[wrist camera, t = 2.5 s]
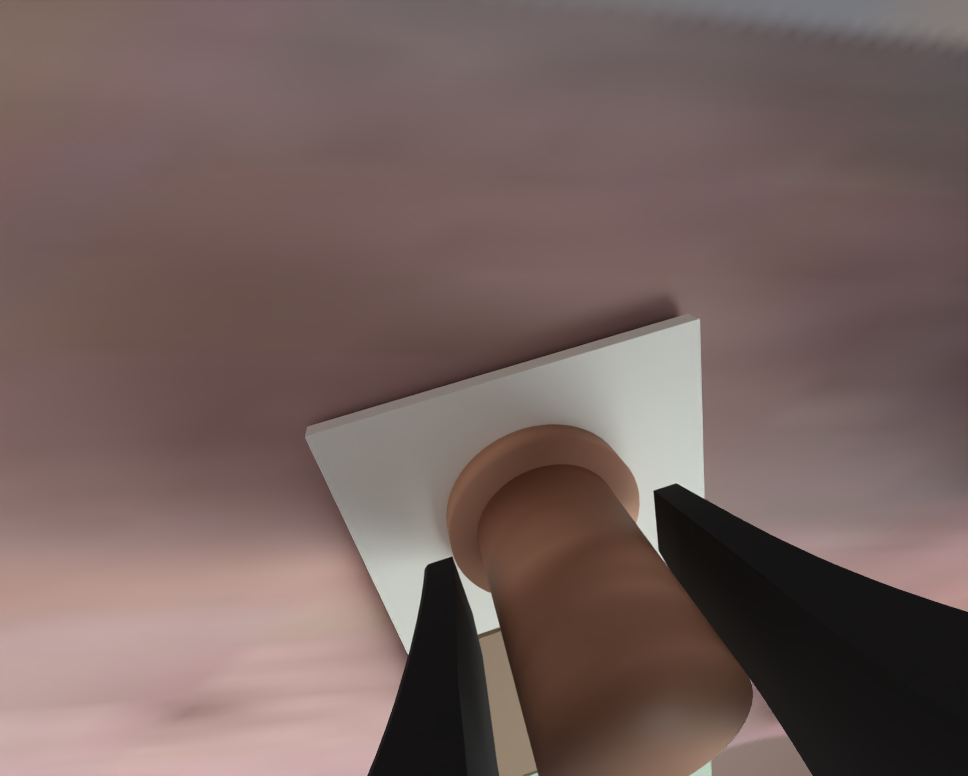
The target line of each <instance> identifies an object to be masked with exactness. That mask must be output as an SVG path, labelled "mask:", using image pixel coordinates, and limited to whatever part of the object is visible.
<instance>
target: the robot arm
mask: <svg viewBox="0 0 968 776" xmlns="http://www.w3.org/2000/svg"><path fill="white" fill-rule="evenodd" d="M653 492H654V504H655V515H656V527H657V539H658V550H659V552H660V554H661V556H662V558H663V559H664V561H665V563H666V564H667V566H668V568H669V569H670V570H671V572H672V573H673V574H674V576H675V577H676V579H677V580H678V581H679V583H680V584H681V585H682V587H683V588H684V589H685V591H686V592H687V593H688V595H689V596H690V598H691V599H692V600H693V602H694V603H695V604H696V606H697V607H698V608H699V610H700V611H701V612H702V614H703V615H704V617H705V618H706V619H707V621H708V622H709V623H710V625H711V626H712V627H713V629H714V630H715V632H716V633H717V634H718V636H719V637H720V638H721V640H722V641H723V642H724V644H725V645H726V646H727V648H728V649H729V651H730V652H731V653H732V655H733V656H734V657H735V659H736V660H737V661H738V663H739V664H740V666H741V667H742V668H743V670H744V671H745V672H746V674H747V675H748V677H749V678H750V679H751V681H752V682H753V684H754V685H755V686H756V688H757V689H758V691H759V692H760V693H761V695H762V696H763V698H764V699H765V701H766V703H767V704H768V706H769V707H770V709H771V710H772V712H773V713H774V715H775V716H776V718H777V720H778V721H779V723H780V724H781V726H782V727H783V729H784V730H785V732H786V734H787V735H788V737H789V738H790V740H791V741H792V743H793V745H794V746H795V748H796V749H797V751H798V752H799V754H800V756H801V757H802V759H803V761H804V762H805V764H806V765H807V767H808V769H809V770H810V772H811V773H812V775H813V776H968V612H966V611H963V610H960V609H957V608H953V607H950V606H947V605H944V604H941V603H938V602H935V601H932V600H929V599H926V598H923V597H920V596H917V595H914V594H911V593H908V592H905V591H902V590H899V589H897V588H894V587H891V586H889V585H886V584H883V583H880V582H878V581H875V580H872V579H870V578H867V577H865V576H862V575H860V574H857V573H855V572H852V571H850V570H847V569H845V568H843V567H840V566H838V565H835V564H833V563H830V562H828V561H826V560H824V559H821V558H819V557H817V556H814V555H812V554H810V553H808V552H806V551H804V550H802V549H799V548H797V547H795V546H793V545H791V544H789V543H787V542H785V541H783V540H780V539H778V538H776V537H774V536H772V535H770V534H768V533H766V532H765V531H763V530H761V529H759V528H757V527H755V526H753V525H751V524H749V523H747V522H745V521H743V520H742V519H740V518H738V517H736V516H734V515H732V514H731V513H729V512H727V511H725V510H723V509H722V508H720V507H718V506H716V505H714V504H713V503H711V502H709V501H707V500H705V499H704V498H702V497H700V496H698V495H697V494H695V493H693V492H691V491H689V490H688V489H686V488H684V487H682V486H680V485H679V484H677V483H675V484H672V485H669V486H666V487H663V488H660V489H657V490H654V491H653ZM368 776H499V771H498V765H497V758H496V751H495V743H494V736H493V728H492V721H491V713H490V706H489V698H488V691H487V683H486V676H485V669H484V662H483V655H482V651H481V647H480V642H479V638H478V634H477V629H476V625H475V621H474V617H473V613H472V610H471V607H470V604H469V602H468V599H467V596H466V593H465V590H464V588H463V585H462V582H461V579H460V576H459V573H458V571H457V568H456V565H455V562H454V559H453V557H449V558H446V559H443V560H440V561H436V562H433V563H430V564H428V565H427V566H426V568H425V569H424V580H423V588H422V595H421V600H420V606H419V611H418V616H417V621H416V625H415V630H414V634H413V638H412V642H411V647H410V651H409V655H408V659H407V662H406V666H405V669H404V672H403V676H402V679H401V683H400V686H399V690H398V693H397V696H396V700H395V703H394V706H393V709H392V712H391V715H390V718H389V721H388V723H387V726H386V729H385V732H384V735H383V737H382V740H381V743H380V745H379V748H378V751H377V753H376V756H375V758H374V761H373V763H372V766H371V768H370V771H369V773H368Z"/></svg>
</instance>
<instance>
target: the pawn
mask: <svg viewBox="0 0 968 776" xmlns="http://www.w3.org/2000/svg"><path fill="white" fill-rule="evenodd" d="M639 507H640V501H639V491H638V486H637V483H636V480H635V478H634V476H633V474H632V472H631V471H630V469H629V468H628V466H627V465H626V464H625V463H624V462H623V460H622V459H621V458H620V457H619V456H618V455H617V453H616V452H615V451H614V450H613V449H612V448H611V446H610V445H609V444H608V443H606V442H605V441H604V440H603V439H602V438H600V437H598V436H597V435H595V434H594V433H592V432H589V431H587V430H584V429H582V428H578V427H574V426H569V425H560V424H546V425H539V426H532V427H528V428H524V429H521V430H518V431H515V432H512V433H510V434H508V435H506V436H504V437H502V438H500V439H498V440H496V441H494V442H493V443H491V444H490V445H488V446H487V447H485V448H484V449H483V450H482V451H480V452H479V453H478V454H477V455H476V456H475V457H474V458H473V459H472V460H471V461H470V462H469V463H468V464H467V465H466V466H465V468H464V469H463V470H462V472H461V473H460V475H459V476H458V478H457V480H456V482H455V483H454V485H453V488H452V490H451V493H450V496H449V500H448V504H447V513H446V519H447V528H448V534H449V539H450V544H451V549H452V553H453V557H454V559H455V561H456V563H457V565H458V567H459V568H460V570H461V571H462V573H463V574H464V575H465V576H466V577H467V578H468V579H469V580H470V581H471V582H472V583H474V584H475V585H476V586H478V587H479V588H481V589H483V590H485V591H487V592H490V593H491V595H492V599H493V603H494V607H495V611H496V614H497V618H498V622H499V626H500V630H501V634H502V637H503V641H504V645H505V649H506V653H507V657H508V660H509V664H510V668H511V672H512V676H513V680H514V683H515V687H516V691H517V695H518V699H519V703H520V706H521V710H522V714H523V718H524V722H525V725H526V729H527V733H528V737H529V741H530V745H531V748H532V752H533V756H534V760H535V764H536V768H537V771H538V775H539V776H689V775H691V774H693V773H694V772H696V771H697V770H699V769H700V768H702V767H703V766H704V765H706V764H707V763H708V762H710V761H711V760H712V759H713V758H715V757H716V756H717V755H718V754H719V753H720V752H721V751H722V750H723V749H724V748H725V747H726V746H727V745H728V744H729V743H730V742H731V741H732V740H733V738H734V737H735V736H736V735H737V733H738V732H739V731H740V729H741V727H742V726H743V724H744V723H745V720H746V718H747V716H748V714H749V711H750V708H751V705H752V698H753V691H752V685H751V682H750V679H749V677H748V676H747V674H746V672H745V671H744V670H743V668H742V667H741V666H740V664H739V663H738V661H737V660H736V659H735V657H734V656H733V655H732V653H731V652H730V651H729V649H728V648H727V646H726V645H725V644H724V642H723V641H722V640H721V638H720V637H719V636H718V634H717V633H716V632H715V630H714V629H713V627H712V626H711V625H710V623H709V622H708V621H707V619H706V618H705V617H704V615H703V614H702V612H701V611H700V610H699V608H698V607H697V606H696V604H695V603H694V602H693V600H692V599H691V598H690V596H689V595H688V593H687V592H686V591H685V589H684V588H683V587H682V585H681V584H680V583H679V581H678V580H677V579H676V577H675V576H674V574H673V573H672V572H671V570H670V569H669V568H668V566H667V565H666V564H665V562H664V561H663V559H662V558H661V557H660V555H659V554H658V553H657V551H656V550H655V549H654V547H653V546H652V545H651V543H650V542H649V540H648V539H647V538H646V536H645V535H644V534H643V532H642V531H641V530H640V528H639V527H638V525H637V524H636V522H637V519H638V514H639Z"/></svg>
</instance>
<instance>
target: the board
mask: <svg viewBox="0 0 968 776" xmlns="http://www.w3.org/2000/svg"><path fill="white" fill-rule="evenodd" d="M546 424H560V425H569V426H574V427H578V428H582V429H584V430H587V431H589V432H592V433H594V434H595V435H597V436H598V437H600V438H602V439H603V440H604V441H605V442H606V443H608V444H609V445H610V446H611V448H612V449H613V450H614V451H615V452H616V453H617V455H618V456H619V457H620V458H621V459H622V460H623V462H624V463H625V464H626V465H627V466H628V468H629V469H630V471H631V472H632V474H633V476H634V478H635V480H636V483H637V486H638V491H639V501H640V507H639V514H638V519H637V522H636V524H637V525H638V527H639V528H640V530H641V531H642V532H643V534H644V535H645V536H646V538H647V539H648V540H649V542H650V543H651V545H652V546H653V547H654V549H655V550H656V551H657V553H658V554H659V555H660V557H661V558H662V556H661V554H660V552H659V550H658V539H657V527H656V515H655V504H654V492H653V491H654V490H657V489H660V488H663V487H666V486H669V485H672V484H675V483H677V484H679V485H680V486H682V487H684V488H686V489H688V490H689V491H691V492H693V493H695V494H697V495H698V496H700V497H702V498H704V461H703V421H702V381H701V341H700V319H699V318H697V317H695V316H693V315H690V314H685V315H682V316H678V317H675V318H671V319H668V320H665V321H661V322H658V323H655V324H651V325H648V326H645V327H641V328H638V329H634V330H631V331H628V332H624V333H621V334H618V335H614V336H611V337H607V338H604V339H601V340H597V341H594V342H591V343H587V344H584V345H580V346H577V347H574V348H570V349H567V350H564V351H560V352H557V353H553V354H550V355H547V356H543V357H540V358H537V359H533V360H530V361H526V362H523V363H520V364H516V365H513V366H510V367H506V368H503V369H500V370H496V371H493V372H489V373H486V374H483V375H479V376H476V377H473V378H469V379H466V380H462V381H459V382H456V383H452V384H449V385H446V386H442V387H439V388H435V389H432V390H429V391H425V392H422V393H419V394H415V395H412V396H408V397H405V398H402V399H398V400H395V401H392V402H388V403H385V404H381V405H378V406H375V407H371V408H368V409H365V410H361V411H358V412H355V413H351V414H348V415H344V416H341V417H338V418H334V419H331V420H328V421H324V422H321V423H317V424H314V425H311V426H308V427H307V430H306V433H305V436H304V437H305V439H306V441H307V443H308V445H309V447H310V449H311V452H312V454H313V456H314V458H315V460H316V462H317V464H318V466H319V468H320V470H321V473H322V475H323V477H324V479H325V481H326V483H327V485H328V487H329V489H330V492H331V494H332V496H333V498H334V500H335V502H336V504H337V506H338V508H339V511H340V513H341V515H342V517H343V519H344V521H345V523H346V525H347V527H348V529H349V532H350V534H351V536H352V538H353V540H354V542H355V544H356V546H357V548H358V551H359V553H360V555H361V557H362V559H363V561H364V563H365V565H366V567H367V569H368V572H369V574H370V576H371V578H372V580H373V582H374V584H375V586H376V588H377V591H378V593H379V595H380V597H381V599H382V601H383V603H384V605H385V607H386V609H387V612H388V614H389V616H390V618H391V620H392V622H393V624H394V626H395V628H396V631H397V633H398V635H399V637H400V639H401V641H402V643H403V645H404V647H405V649H406V652H407V654H408V655H409V651H410V647H411V642H412V638H413V634H414V630H415V625H416V621H417V616H418V611H419V606H420V600H421V595H422V588H423V580H424V569H425V568H426V566H427V565H428V564H430V563H433V562H436V561H440V560H443V559H446V558H449V557H453V553H452V549H451V544H450V539H449V534H448V528H447V519H446V513H447V504H448V500H449V496H450V493H451V490H452V488H453V485H454V483H455V482H456V480H457V478H458V476H459V475H460V473H461V472H462V470H463V469H464V468H465V466H466V465H467V464H468V463H469V462H470V461H471V460H472V459H473V458H474V457H475V456H476V455H477V454H478V453H479V452H480V451H482V450H483V449H484V448H485V447H487V446H488V445H490V444H491V443H493V442H494V441H496V440H498V439H500V438H502V437H504V436H506V435H508V434H510V433H512V432H515V431H518V430H521V429H524V428H528V427H532V426H539V425H546ZM453 559H454V557H453ZM662 559H663V558H662ZM663 561H664V559H663ZM454 562H455V565H456V568H457V571H458V573H459V576H460V579H461V582H462V585H463V588H464V590H465V593H466V596H467V599H468V602H469V604H470V607H471V610H472V613H473V617H474V621H475V625H476V629H477V634H478V638H479V642H480V647H481V651H482V655H483V662H484V669H485V676H486V683H487V691H488V698H489V706H490V713H491V721H492V728H493V736H494V743H495V751H496V758H497V765H498V771H499V776H539V775H538V771H537V768H536V764H535V760H534V756H533V752H532V748H531V745H530V741H529V737H528V733H527V729H526V725H525V722H524V718H523V714H522V710H521V706H520V703H519V699H518V695H517V691H516V687H515V683H514V680H513V676H512V672H511V668H510V664H509V660H508V657H507V653H506V649H505V645H504V641H503V637H502V634H501V630H500V626H499V622H498V618H497V614H496V611H495V607H494V603H493V599H492V595H491V593H490V592H487V591H485V590H483V589H481V588H479V587H478V586H476V585H475V584H474V583H472V582H471V581H470V580H469V579H468V578H467V577H466V576H465V575H464V574H463V573H462V571H461V570H460V568H459V567H458V565H457V563H456V561H455V559H454ZM664 562H665V561H664ZM665 564H666V563H665ZM666 565H667V564H666ZM689 776H711V761H710V762H708V763H707V764H706V765H704V766H703V767H702V768H700V769H699V770H697V771H696V772H694V773H693V774H691V775H689Z"/></svg>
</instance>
